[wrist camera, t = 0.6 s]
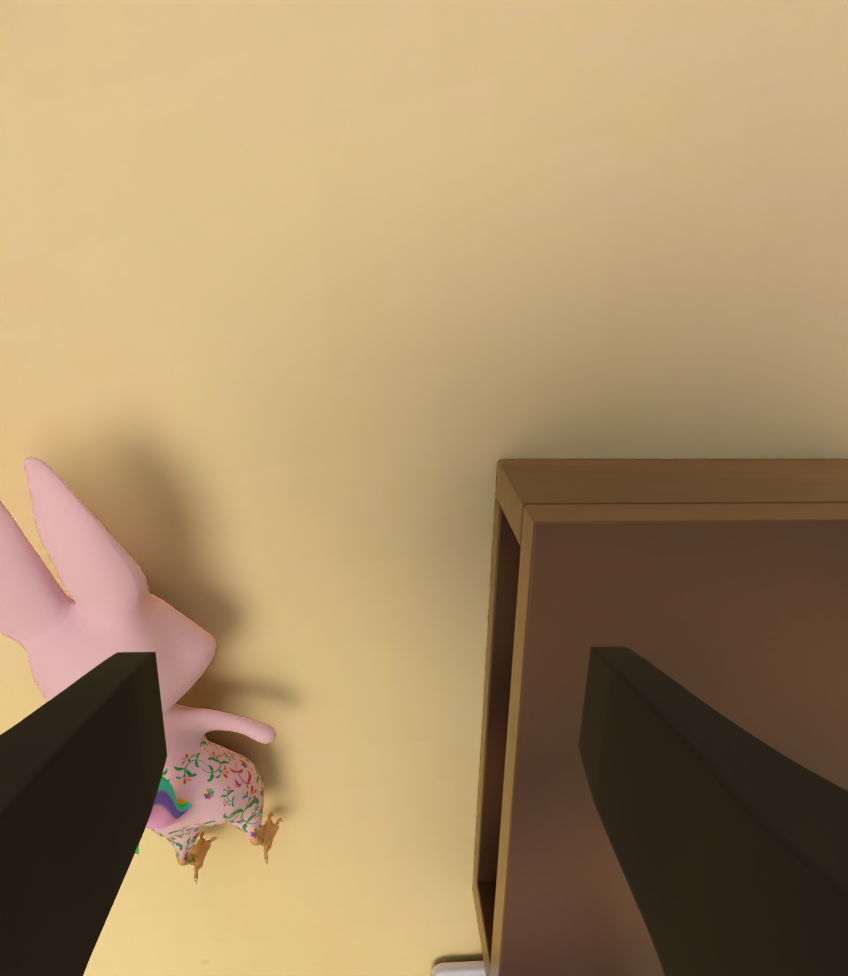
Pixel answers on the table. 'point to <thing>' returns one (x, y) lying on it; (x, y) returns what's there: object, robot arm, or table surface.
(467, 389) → the table surface
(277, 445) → the table surface
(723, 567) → the wooden cubby shelf
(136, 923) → the table surface
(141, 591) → the rabbit figure
